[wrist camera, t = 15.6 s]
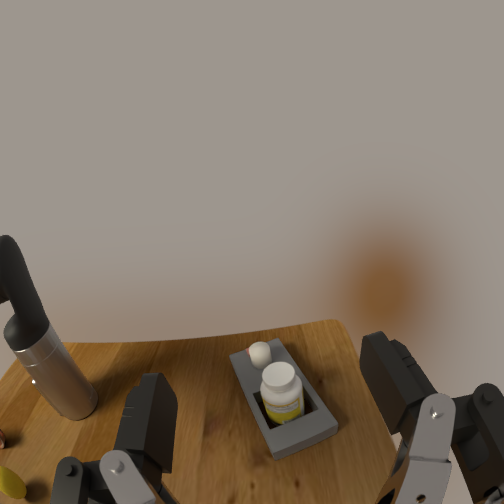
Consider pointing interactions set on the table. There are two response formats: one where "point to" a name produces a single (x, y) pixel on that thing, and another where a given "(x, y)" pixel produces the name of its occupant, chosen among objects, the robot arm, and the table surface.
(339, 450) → the table surface
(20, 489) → the lemon
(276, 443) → the grey square-hole tray
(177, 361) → the table surface
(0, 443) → the tin
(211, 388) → the table surface
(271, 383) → the supplement bottle
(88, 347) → the table surface
